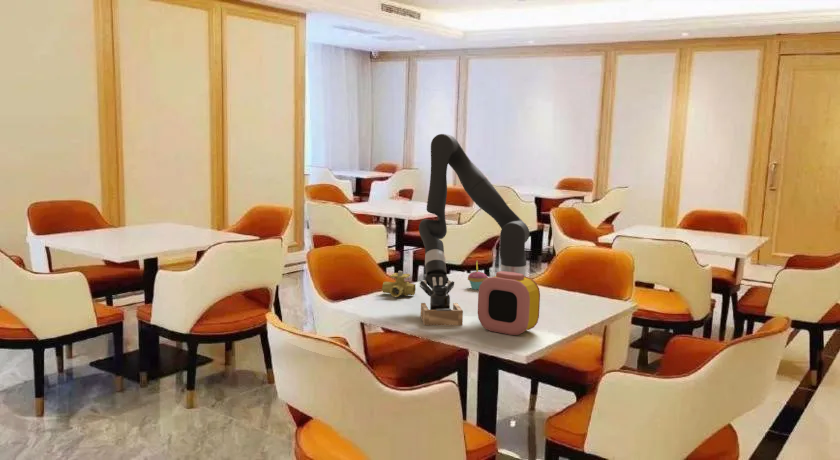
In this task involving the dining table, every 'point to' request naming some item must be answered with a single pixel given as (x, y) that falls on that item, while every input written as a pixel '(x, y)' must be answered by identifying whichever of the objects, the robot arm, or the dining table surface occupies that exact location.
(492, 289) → the alarm clock
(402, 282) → the ball valve
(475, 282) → the cupcake
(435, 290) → the supplement bottle
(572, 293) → the dining table surface
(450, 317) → the frame
